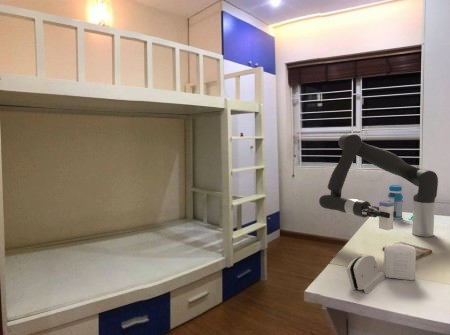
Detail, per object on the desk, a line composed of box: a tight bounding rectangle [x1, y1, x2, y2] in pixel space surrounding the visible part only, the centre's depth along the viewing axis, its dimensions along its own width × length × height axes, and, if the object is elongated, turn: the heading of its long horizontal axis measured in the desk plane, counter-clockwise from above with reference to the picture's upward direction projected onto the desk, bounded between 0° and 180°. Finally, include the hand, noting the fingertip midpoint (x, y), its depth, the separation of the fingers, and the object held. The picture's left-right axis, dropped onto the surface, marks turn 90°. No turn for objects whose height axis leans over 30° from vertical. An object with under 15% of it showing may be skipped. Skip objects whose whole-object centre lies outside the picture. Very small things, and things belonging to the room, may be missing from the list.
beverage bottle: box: [386, 184, 404, 220], centre depth 199 cm, size 8×8×20 cm
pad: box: [382, 241, 433, 260], centre depth 143 cm, size 14×14×1 cm
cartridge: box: [378, 200, 394, 231], centre depth 139 cm, size 4×4×12 cm
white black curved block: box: [346, 255, 386, 295], centre depth 114 cm, size 17×5×10 cm, turn 134°
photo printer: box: [382, 243, 417, 281], centre depth 117 cm, size 10×4×12 cm, turn 72°
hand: (392, 214), depth 137 cm, fingers closed on cartridge, 4 cm apart
